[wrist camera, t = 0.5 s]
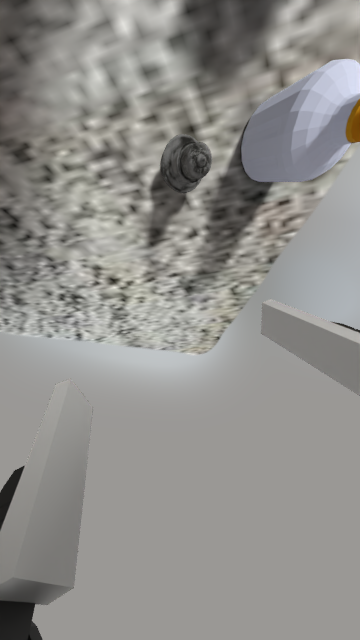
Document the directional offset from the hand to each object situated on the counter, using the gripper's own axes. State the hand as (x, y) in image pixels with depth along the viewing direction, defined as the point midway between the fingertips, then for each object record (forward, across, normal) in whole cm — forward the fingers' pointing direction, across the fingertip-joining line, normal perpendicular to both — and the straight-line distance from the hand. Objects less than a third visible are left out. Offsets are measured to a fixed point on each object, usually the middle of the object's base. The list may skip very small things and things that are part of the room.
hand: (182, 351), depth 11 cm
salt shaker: (+23, +11, +14) cm, 29 cm away
